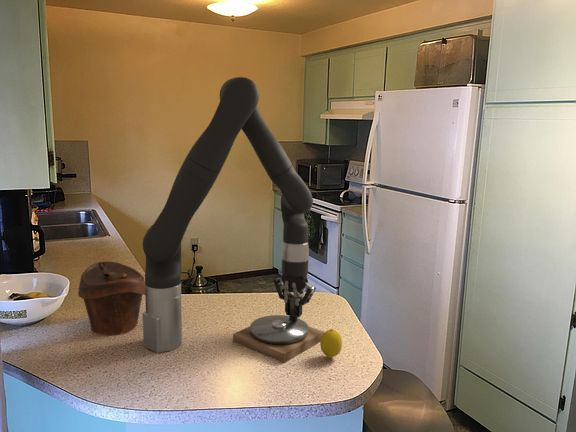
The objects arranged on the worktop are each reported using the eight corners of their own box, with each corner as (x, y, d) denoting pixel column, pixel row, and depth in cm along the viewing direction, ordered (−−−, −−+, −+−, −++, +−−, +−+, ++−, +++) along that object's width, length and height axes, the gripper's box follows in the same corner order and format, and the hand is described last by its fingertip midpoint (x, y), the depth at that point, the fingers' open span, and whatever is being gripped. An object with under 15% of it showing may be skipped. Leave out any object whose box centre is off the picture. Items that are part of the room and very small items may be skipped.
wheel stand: (284, 363, 122) (284, 353, 122) (232, 342, 133) (232, 333, 133) (323, 339, 136) (324, 331, 136) (274, 322, 147) (274, 314, 147)
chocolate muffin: (131, 343, 130) (129, 279, 127) (65, 335, 134) (61, 273, 131) (161, 319, 148) (159, 262, 145) (101, 313, 152) (99, 257, 149)
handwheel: (284, 350, 123) (284, 318, 121) (238, 332, 133) (238, 303, 131) (319, 330, 136) (320, 301, 134) (274, 315, 145) (275, 288, 144)
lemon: (327, 351, 129) (329, 322, 128) (345, 357, 126) (346, 328, 124) (315, 358, 125) (316, 329, 124) (333, 365, 122) (334, 335, 120)
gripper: (267, 255, 137) (266, 313, 140) (308, 264, 128) (306, 326, 132) (283, 250, 143) (282, 306, 146) (323, 259, 134) (320, 317, 138)
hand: (293, 315), depth 139 cm, fingers closed on handwheel, 2 cm apart
